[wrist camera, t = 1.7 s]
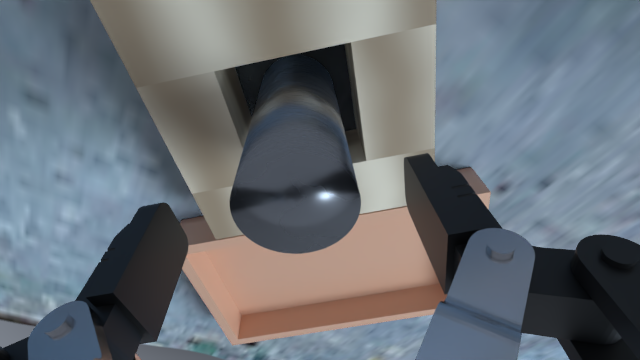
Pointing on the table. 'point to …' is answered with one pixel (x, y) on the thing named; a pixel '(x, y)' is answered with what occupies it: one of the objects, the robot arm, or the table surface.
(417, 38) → the block
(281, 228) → the steel pin
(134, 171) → the table surface
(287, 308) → the tray
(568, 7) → the table surface
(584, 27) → the table surface
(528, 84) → the table surface
